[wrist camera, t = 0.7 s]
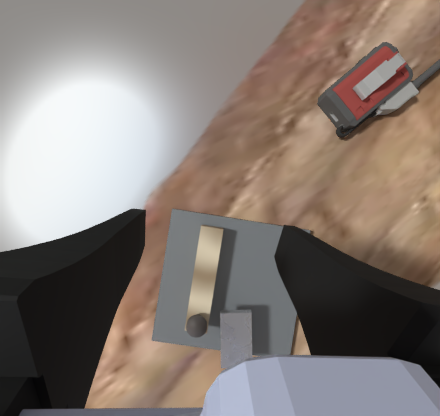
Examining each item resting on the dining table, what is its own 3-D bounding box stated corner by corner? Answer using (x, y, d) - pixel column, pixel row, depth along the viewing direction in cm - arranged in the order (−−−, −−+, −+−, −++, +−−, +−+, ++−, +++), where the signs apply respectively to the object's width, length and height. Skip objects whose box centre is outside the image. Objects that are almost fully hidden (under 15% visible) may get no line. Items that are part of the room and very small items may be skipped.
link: (207, 325, 30) (206, 340, 27) (186, 322, 30) (182, 337, 27) (222, 227, 30) (223, 230, 27) (201, 224, 30) (200, 226, 27)
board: (286, 355, 32) (289, 360, 31) (153, 336, 32) (151, 340, 31) (307, 229, 32) (310, 230, 31) (173, 208, 31) (172, 208, 30)
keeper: (220, 349, 31) (221, 368, 27) (219, 301, 31) (220, 313, 27) (248, 348, 31) (252, 367, 27) (247, 300, 31) (251, 312, 27)
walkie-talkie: (344, 151, 32) (445, 66, 32) (364, 143, 28) (481, 44, 28) (306, 106, 32) (409, 20, 32) (321, 90, 28) (439, -9, 28)
